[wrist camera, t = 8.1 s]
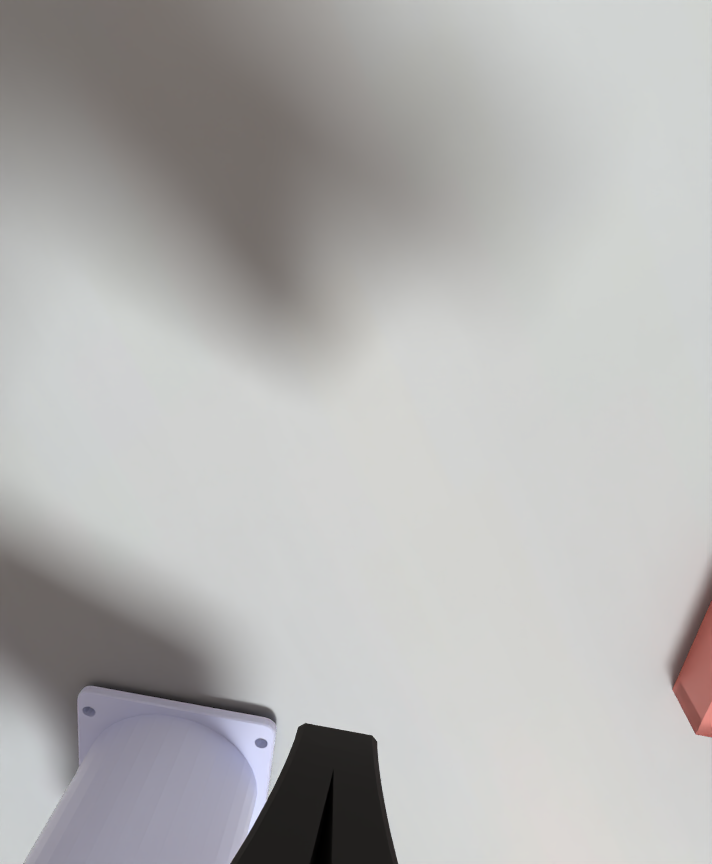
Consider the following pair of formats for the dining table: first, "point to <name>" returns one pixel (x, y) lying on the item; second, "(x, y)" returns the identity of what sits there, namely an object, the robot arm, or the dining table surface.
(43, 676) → the dining table surface
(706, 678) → the tray
